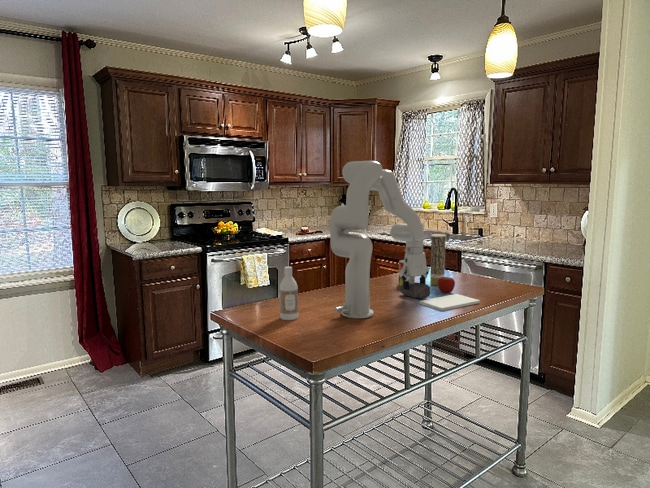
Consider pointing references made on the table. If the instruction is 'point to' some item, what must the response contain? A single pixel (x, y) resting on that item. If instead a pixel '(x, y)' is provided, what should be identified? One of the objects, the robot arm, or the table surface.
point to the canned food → (401, 265)
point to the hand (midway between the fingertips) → (414, 287)
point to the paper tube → (437, 258)
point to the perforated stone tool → (416, 290)
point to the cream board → (449, 302)
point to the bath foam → (288, 296)
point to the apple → (446, 284)
